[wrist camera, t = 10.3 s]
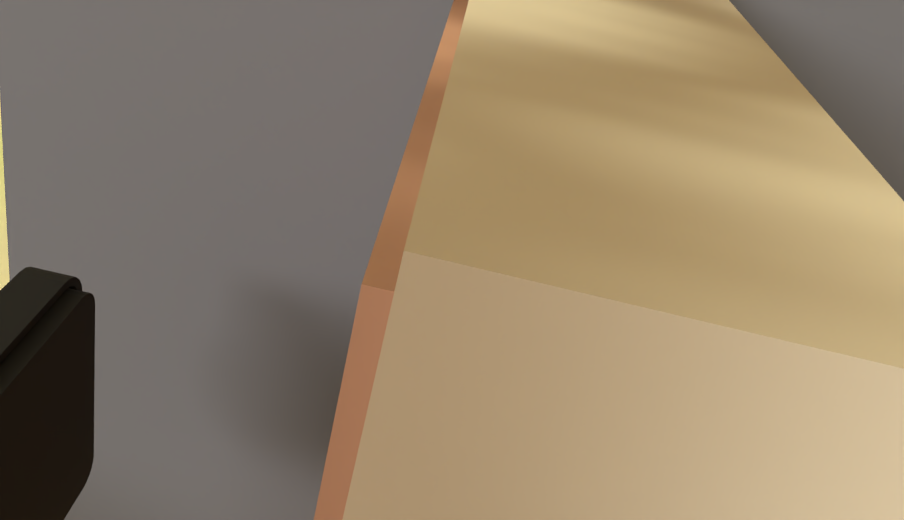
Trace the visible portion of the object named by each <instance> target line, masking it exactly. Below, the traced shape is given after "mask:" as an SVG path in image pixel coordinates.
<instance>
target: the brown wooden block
mask: <svg viewBox="0 0 904 520" xmlns="http://www.w3.org/2000/svg"><path fill="white" fill-rule="evenodd" d="M314 520H904V201H903V200H902V199H901V197H900V196H899V195H898V194H897V193H896V192H895V191H894V189H893V188H892V187H891V186H890V185H889V184H888V183H887V181H886V180H885V179H884V178H883V177H882V176H881V174H880V173H879V172H878V171H877V170H876V169H875V168H874V166H873V165H872V164H871V163H870V162H869V161H868V160H867V158H866V157H865V156H864V155H863V154H862V153H861V151H860V150H859V149H858V148H857V147H856V146H855V145H854V143H853V142H852V141H851V140H850V139H849V138H848V137H847V135H846V134H845V133H844V132H843V131H842V130H841V128H840V127H839V126H838V125H837V124H836V123H835V122H834V120H833V119H832V118H831V117H830V116H829V115H828V114H827V112H826V111H825V110H824V109H823V108H822V107H821V105H820V104H819V103H818V102H817V101H816V100H815V99H814V97H813V96H812V95H811V94H810V93H809V92H808V91H807V89H806V88H805V87H804V86H803V85H802V84H801V82H800V81H799V80H798V79H797V78H796V77H795V76H794V74H793V73H792V72H791V71H790V70H789V69H788V68H787V66H786V65H785V64H784V63H783V62H782V61H781V59H780V58H779V57H778V56H777V55H776V54H775V53H774V51H773V50H772V49H771V48H770V47H769V46H768V45H767V43H766V42H765V41H764V40H763V39H762V38H761V36H760V35H759V34H758V33H757V32H756V31H755V30H754V28H753V27H752V26H751V25H750V24H749V23H748V22H747V20H746V19H745V18H744V17H743V16H742V15H741V13H740V12H739V11H738V10H737V9H736V8H735V7H734V5H733V4H732V3H731V2H730V1H729V0H454V1H453V4H452V7H451V10H450V13H449V16H448V19H447V22H446V26H445V29H444V32H443V35H442V38H441V41H440V44H439V47H438V50H437V53H436V56H435V59H434V63H433V66H432V69H431V72H430V75H429V78H428V81H427V84H426V87H425V90H424V93H423V96H422V99H421V103H420V106H419V109H418V112H417V115H416V118H415V121H414V124H413V127H412V130H411V133H410V136H409V140H408V143H407V146H406V149H405V152H404V155H403V158H402V161H401V164H400V167H399V170H398V173H397V176H396V180H395V183H394V186H393V189H392V192H391V195H390V198H389V201H388V204H387V207H386V210H385V213H384V217H383V220H382V223H381V226H380V229H379V232H378V235H377V238H376V241H375V244H374V247H373V250H372V253H371V257H370V260H369V263H368V266H367V269H366V272H365V275H364V278H363V281H362V284H361V289H360V294H359V299H358V304H357V309H356V314H355V319H354V324H353V329H352V334H351V338H350V343H349V348H348V353H347V358H346V363H345V368H344V373H343V378H342V383H341V388H340V393H339V398H338V402H337V407H336V412H335V417H334V422H333V427H332V432H331V437H330V442H329V447H328V452H327V457H326V462H325V467H324V471H323V476H322V481H321V486H320V491H319V496H318V501H317V506H316V511H315V516H314Z"/></svg>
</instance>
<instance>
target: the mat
mask: <svg viewBox="0 0 904 520" xmlns="http://www.w3.org/2000/svg"><path fill="white" fill-rule="evenodd" d="M453 1H454V0H0V101H1V120H2V139H3V158H4V178H5V197H6V216H7V235H8V255H9V274H10V281H11V280H12V279H13V278H14V277H15V276H16V275H17V274H18V273H19V272H20V271H21V270H23V269H24V268H25V267H35V268H39V269H43V270H48V271H52V272H56V273H61V274H65V275H69V276H74V277H77V278H78V279H80V282H81V284H82V291H84V292H88V293H91V294H93V296H94V298H95V380H94V458H93V464H92V469H91V472H90V475H89V478H88V480H87V482H86V484H85V486H84V488H83V490H82V491H81V493H80V495H79V496H78V498H77V499H76V501H75V503H74V504H73V506H72V507H71V509H70V511H69V512H68V514H67V516H66V517H65V519H64V520H314V516H315V511H316V506H317V501H318V496H319V491H320V486H321V481H322V476H323V471H324V467H325V462H326V457H327V452H328V447H329V442H330V437H331V432H332V427H333V422H334V417H335V412H336V407H337V402H338V398H339V393H340V388H341V383H342V378H343V373H344V368H345V363H346V358H347V353H348V348H349V343H350V338H351V334H352V329H353V324H354V319H355V314H356V309H357V304H358V299H359V294H360V289H361V284H362V281H363V278H364V275H365V272H366V269H367V266H368V263H369V260H370V257H371V253H372V250H373V247H374V244H375V241H376V238H377V235H378V232H379V229H380V226H381V223H382V220H383V217H384V213H385V210H386V207H387V204H388V201H389V198H390V195H391V192H392V189H393V186H394V183H395V180H396V176H397V173H398V170H399V167H400V164H401V161H402V158H403V155H404V152H405V149H406V146H407V143H408V140H409V136H410V133H411V130H412V127H413V124H414V121H415V118H416V115H417V112H418V109H419V106H420V103H421V99H422V96H423V93H424V90H425V87H426V84H427V81H428V78H429V75H430V72H431V69H432V66H433V63H434V59H435V56H436V53H437V50H438V47H439V44H440V41H441V38H442V35H443V32H444V29H445V26H446V22H447V19H448V16H449V13H450V10H451V7H452V4H453ZM729 1H730V2H731V3H732V4H733V5H734V7H735V8H736V9H737V10H738V11H739V12H740V13H741V15H742V16H743V17H744V18H745V19H746V20H747V22H748V23H749V24H750V25H751V26H752V27H753V28H754V30H755V31H756V32H757V33H758V34H759V35H760V36H761V38H762V39H763V40H764V41H765V42H766V43H767V45H768V46H769V47H770V48H771V49H772V50H773V51H774V53H775V54H776V55H777V56H778V57H779V58H780V59H781V61H782V62H783V63H784V64H785V65H786V66H787V68H788V69H789V70H790V71H791V72H792V73H793V74H794V76H795V77H796V78H797V79H798V80H799V81H800V82H801V84H802V85H803V86H804V87H805V88H806V89H807V91H808V92H809V93H810V94H811V95H812V96H813V97H814V99H815V100H816V101H817V102H818V103H819V104H820V105H821V107H822V108H823V109H824V110H825V111H826V112H827V114H828V115H829V116H830V117H831V118H832V119H833V120H834V122H835V123H836V124H837V125H838V126H839V127H840V128H841V130H842V131H843V132H844V133H845V134H846V135H847V137H848V138H849V139H850V140H851V141H852V142H853V143H854V145H855V146H856V147H857V148H858V149H859V150H860V151H861V153H862V154H863V155H864V156H865V157H866V158H867V160H868V161H869V162H870V163H871V164H872V165H873V166H874V168H875V169H876V170H877V171H878V172H879V173H880V174H881V176H882V177H883V178H884V179H885V180H886V181H887V183H888V184H889V185H890V186H891V187H892V188H893V189H894V191H895V192H896V193H897V194H898V195H899V196H900V197H901V199H902V200H903V201H904V0H729Z"/></svg>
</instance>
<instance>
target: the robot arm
mask: <svg viewBox="0 0 904 520" xmlns="http://www.w3.org/2000/svg"><path fill="white" fill-rule="evenodd" d="M94 380H95V298H94V296H93V294H91V293H88V292H84V291H82V284H81V282H80V279H78V278H77V277H74V276H69V275H65V274H61V273H56V272H52V271H48V270H43V269H39V268H35V267H25V268H24V269H23V270H21V271H20V272H19V273H18V274H17V275H16V276H15V277H14V278H13V279H12V280H11V281H10V282H9V283H8V284H7V285H6V286H5V287H3V288H2V289H1V290H0V520H64V519H65V517H66V516H67V514H68V512H69V511H70V509H71V507H72V506H73V504H74V503H75V501H76V499H77V498H78V496H79V495H80V493H81V491H82V490H83V488H84V486H85V484H86V482H87V480H88V478H89V475H90V472H91V469H92V464H93V458H94Z"/></svg>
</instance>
